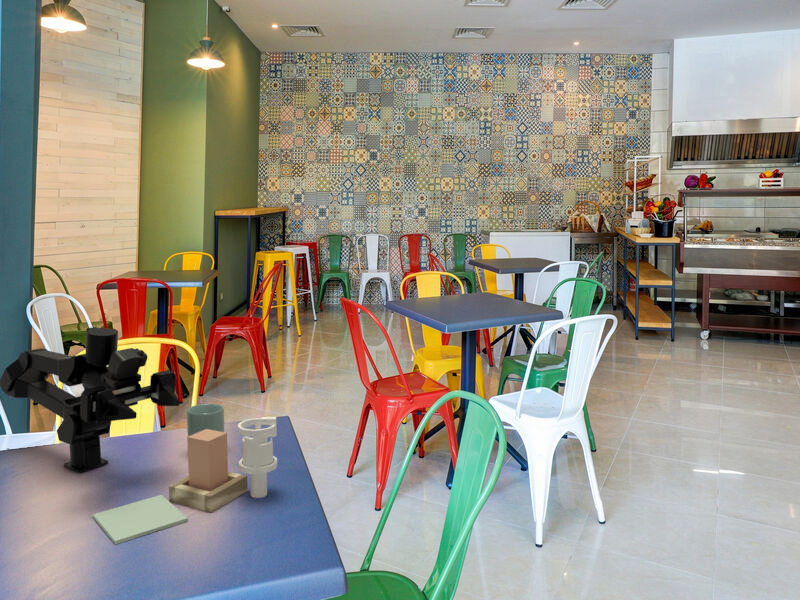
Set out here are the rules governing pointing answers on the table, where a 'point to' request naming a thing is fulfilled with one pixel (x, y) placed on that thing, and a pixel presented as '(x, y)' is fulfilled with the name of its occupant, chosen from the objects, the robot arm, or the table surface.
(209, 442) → the block
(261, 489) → the white flanged cylinder housing
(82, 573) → the table surface
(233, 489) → the pocket frame
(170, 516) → the mat
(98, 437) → the robot arm
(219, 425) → the cup
